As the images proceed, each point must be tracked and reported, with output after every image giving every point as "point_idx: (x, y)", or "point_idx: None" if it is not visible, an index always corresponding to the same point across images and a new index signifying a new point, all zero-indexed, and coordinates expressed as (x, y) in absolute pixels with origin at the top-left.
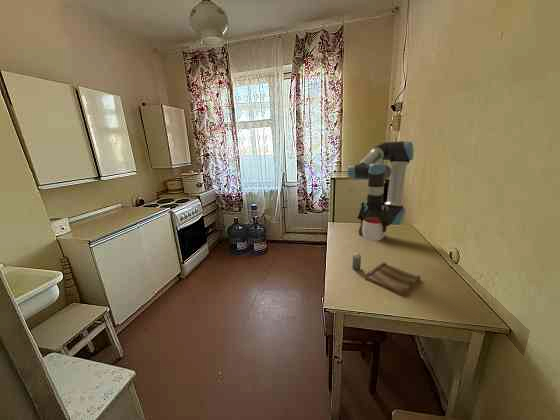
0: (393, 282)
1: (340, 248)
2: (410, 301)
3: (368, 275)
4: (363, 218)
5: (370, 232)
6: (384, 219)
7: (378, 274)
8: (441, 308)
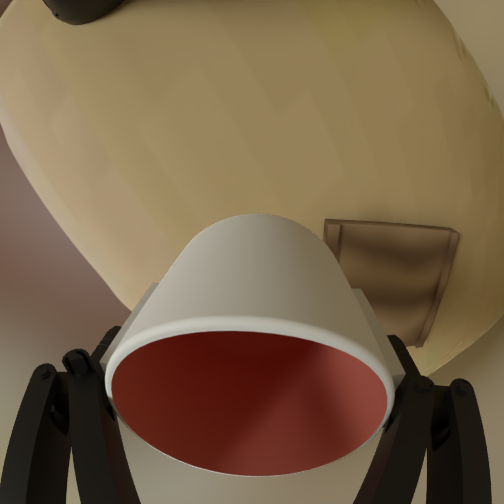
0: (396, 323)
1: (90, 211)
2: (432, 341)
3: None
4: (118, 434)
5: (277, 401)
6: (419, 452)
7: None
8: (478, 314)
